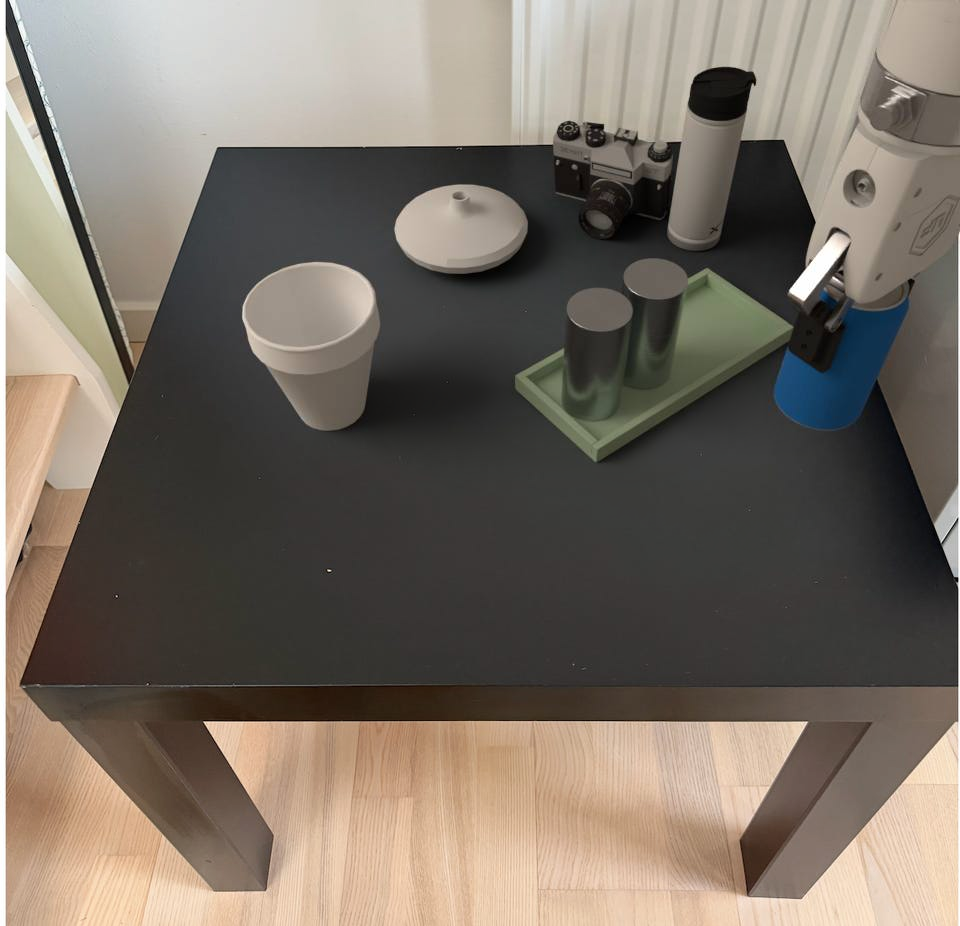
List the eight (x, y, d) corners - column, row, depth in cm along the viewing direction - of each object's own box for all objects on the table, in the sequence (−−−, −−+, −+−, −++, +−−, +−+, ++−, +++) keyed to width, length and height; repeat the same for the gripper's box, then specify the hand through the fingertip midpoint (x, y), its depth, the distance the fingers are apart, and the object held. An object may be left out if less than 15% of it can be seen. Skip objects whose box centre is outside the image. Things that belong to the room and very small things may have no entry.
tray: (789, 340, 97) (794, 326, 96) (596, 463, 87) (597, 449, 86) (704, 281, 104) (707, 267, 102) (514, 389, 94) (514, 375, 92)
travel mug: (726, 252, 107) (762, 90, 92) (669, 252, 107) (696, 91, 92) (718, 220, 111) (751, 60, 96) (664, 220, 111) (688, 61, 96)
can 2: (682, 372, 94) (701, 281, 85) (640, 398, 92) (654, 307, 82) (642, 341, 97) (656, 250, 88) (600, 366, 95) (610, 274, 86)
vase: (373, 236, 111) (366, 186, 105) (480, 193, 116) (479, 142, 111) (441, 306, 102) (437, 255, 97) (554, 255, 107) (556, 204, 102)
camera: (533, 229, 113) (528, 167, 104) (566, 170, 117) (564, 106, 109) (645, 259, 109) (649, 197, 100) (675, 197, 113) (682, 132, 104)
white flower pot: (300, 470, 88) (272, 369, 77) (253, 392, 94) (221, 289, 84) (413, 420, 91) (400, 317, 81) (359, 348, 98) (341, 245, 88)
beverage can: (784, 364, 71) (826, 239, 62) (868, 390, 69) (924, 265, 60) (760, 419, 68) (801, 295, 58) (848, 448, 66) (905, 325, 56)
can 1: (632, 403, 91) (646, 312, 82) (587, 430, 89) (596, 340, 80) (593, 370, 94) (602, 279, 85) (548, 396, 92) (553, 305, 83)
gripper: (897, 184, 44) (803, 427, 58) (1087, 69, 51) (962, 312, 65) (776, 120, 48) (715, 363, 62) (968, 21, 55) (874, 261, 68)
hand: (842, 335), depth 63 cm, fingers closed on beverage can, 6 cm apart
